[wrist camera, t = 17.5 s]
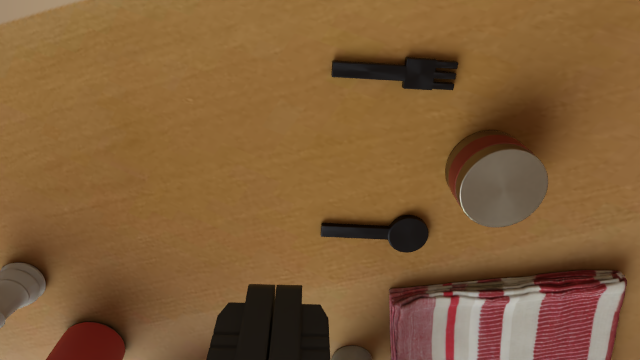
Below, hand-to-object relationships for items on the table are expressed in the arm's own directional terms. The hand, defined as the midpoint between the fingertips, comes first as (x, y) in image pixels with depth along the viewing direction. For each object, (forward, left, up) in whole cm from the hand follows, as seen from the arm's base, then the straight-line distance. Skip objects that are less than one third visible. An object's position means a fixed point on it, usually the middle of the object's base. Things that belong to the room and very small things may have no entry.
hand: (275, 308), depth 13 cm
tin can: (+15, +10, -26) cm, 32 cm away
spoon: (+15, -2, -26) cm, 30 cm away
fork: (+3, +7, -26) cm, 27 cm away
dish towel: (+34, +3, -26) cm, 43 cm away
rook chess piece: (+2, -34, -26) cm, 43 cm away
